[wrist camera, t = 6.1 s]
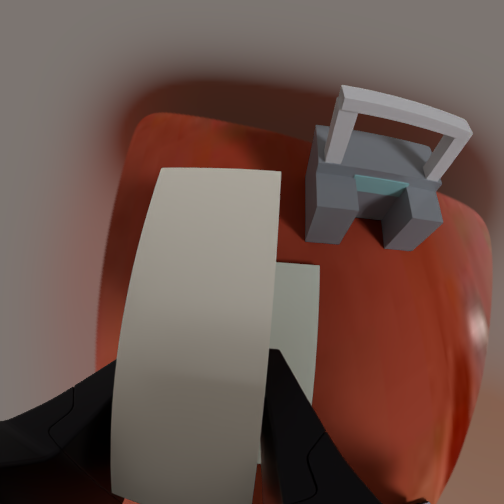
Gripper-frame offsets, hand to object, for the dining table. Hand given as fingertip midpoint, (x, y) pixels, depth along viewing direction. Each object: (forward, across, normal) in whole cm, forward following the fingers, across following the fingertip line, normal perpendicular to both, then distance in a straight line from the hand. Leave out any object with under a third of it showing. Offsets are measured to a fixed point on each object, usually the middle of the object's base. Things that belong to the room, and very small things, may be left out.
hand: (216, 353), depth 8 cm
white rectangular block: (+5, 0, +5) cm, 7 cm away
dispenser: (+15, -8, -1) cm, 18 cm away
